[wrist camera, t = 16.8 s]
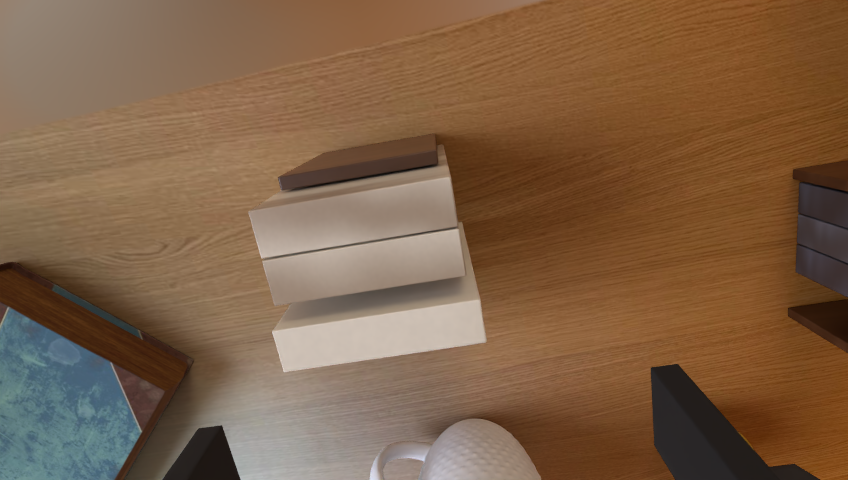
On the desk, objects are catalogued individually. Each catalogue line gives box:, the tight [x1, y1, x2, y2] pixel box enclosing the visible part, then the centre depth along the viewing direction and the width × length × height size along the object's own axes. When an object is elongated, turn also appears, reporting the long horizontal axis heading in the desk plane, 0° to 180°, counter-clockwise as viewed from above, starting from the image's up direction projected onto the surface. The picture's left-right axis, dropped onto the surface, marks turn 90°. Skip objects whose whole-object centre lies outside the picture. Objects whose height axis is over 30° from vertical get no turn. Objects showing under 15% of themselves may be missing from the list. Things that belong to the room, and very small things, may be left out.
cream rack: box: [248, 134, 466, 306], centre depth 32 cm, size 12×10×16 cm
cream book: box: [272, 222, 487, 372], centre depth 33 cm, size 2×11×16 cm, turn 100°
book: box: [0, 262, 193, 480], centre depth 43 cm, size 23×18×5 cm
